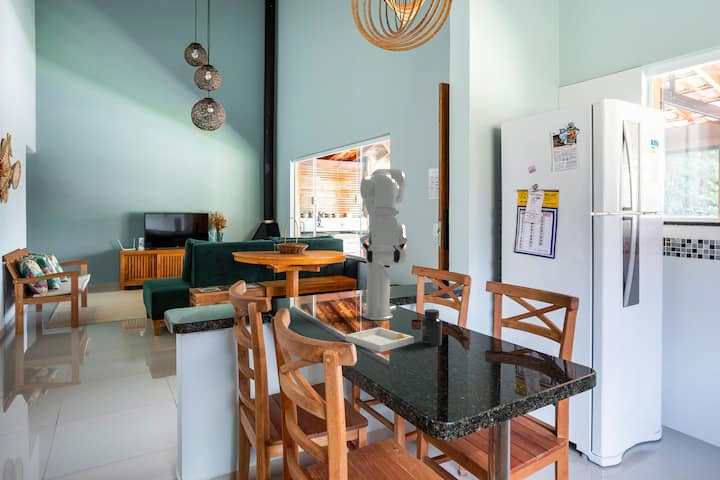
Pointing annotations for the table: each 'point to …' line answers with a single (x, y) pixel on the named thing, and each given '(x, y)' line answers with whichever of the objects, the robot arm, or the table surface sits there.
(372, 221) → the robot arm
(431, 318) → the supplement bottle
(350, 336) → the tray
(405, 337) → the ball
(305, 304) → the table surface
